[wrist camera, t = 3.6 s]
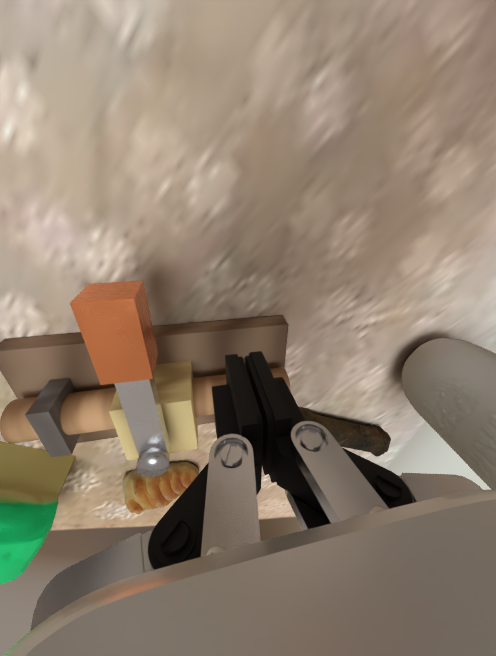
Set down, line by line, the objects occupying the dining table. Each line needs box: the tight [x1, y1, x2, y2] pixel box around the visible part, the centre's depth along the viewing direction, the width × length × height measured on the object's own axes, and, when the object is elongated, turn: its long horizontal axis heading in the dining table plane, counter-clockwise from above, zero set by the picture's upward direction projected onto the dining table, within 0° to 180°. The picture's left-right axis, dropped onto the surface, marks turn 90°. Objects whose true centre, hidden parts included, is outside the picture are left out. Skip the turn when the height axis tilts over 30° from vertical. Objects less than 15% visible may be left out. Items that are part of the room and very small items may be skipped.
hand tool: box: [298, 407, 391, 456], centre depth 34 cm, size 19×4×5 cm, turn 60°
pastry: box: [123, 461, 199, 514], centre depth 34 cm, size 9×7×4 cm
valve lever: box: [70, 281, 170, 477], centre depth 17 cm, size 14×3×3 cm, turn 0°
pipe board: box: [0, 315, 290, 460], centre depth 24 cm, size 25×12×7 cm, turn 90°
